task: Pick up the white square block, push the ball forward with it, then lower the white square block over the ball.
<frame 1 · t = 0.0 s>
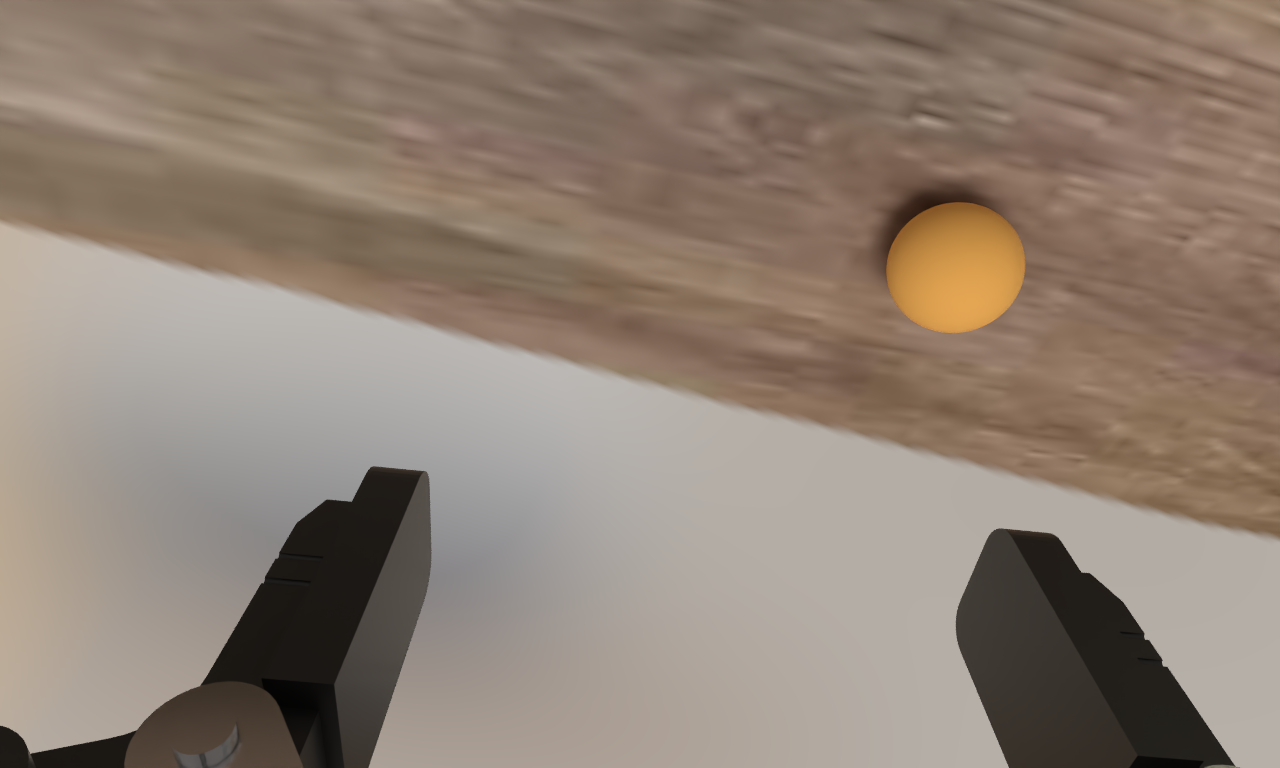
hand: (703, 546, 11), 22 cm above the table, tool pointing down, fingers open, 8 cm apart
ball: (953, 268, 31), on the table
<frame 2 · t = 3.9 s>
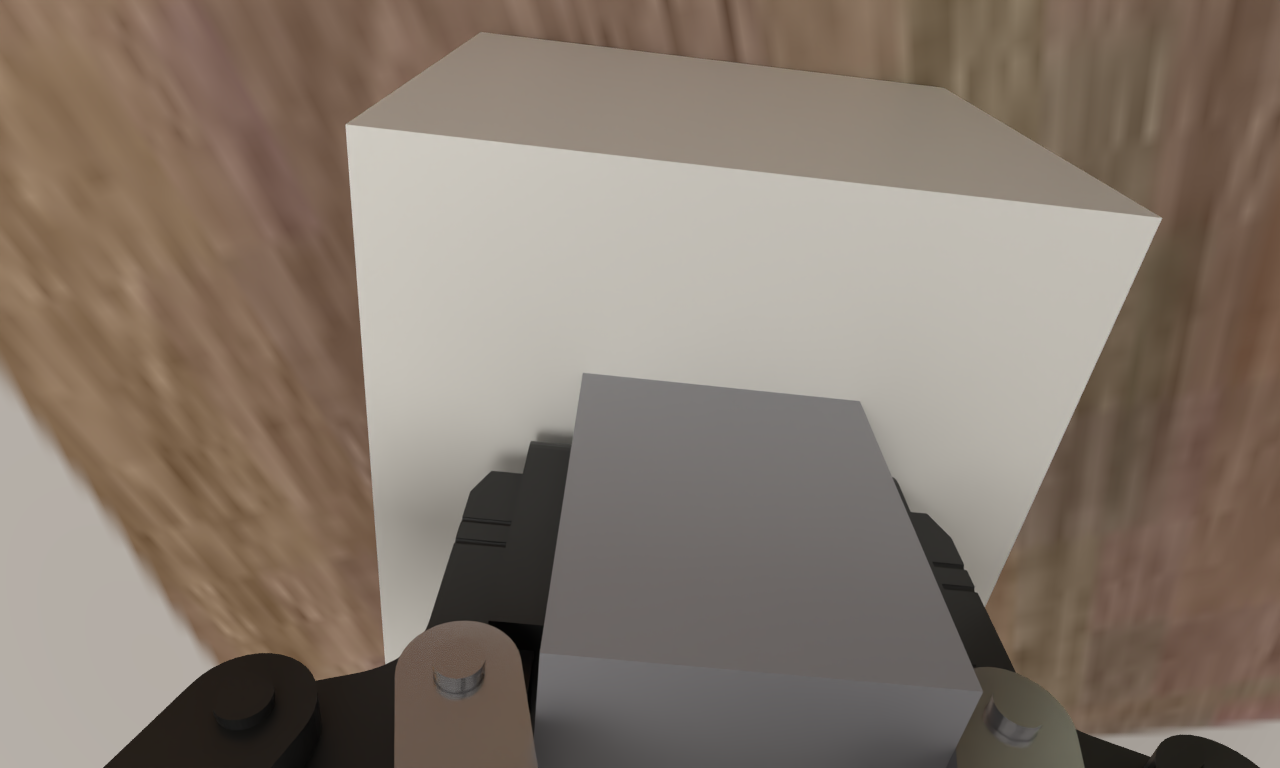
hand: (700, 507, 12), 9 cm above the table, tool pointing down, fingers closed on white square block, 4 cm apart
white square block: (683, 276, 20), on the table, touching gripper
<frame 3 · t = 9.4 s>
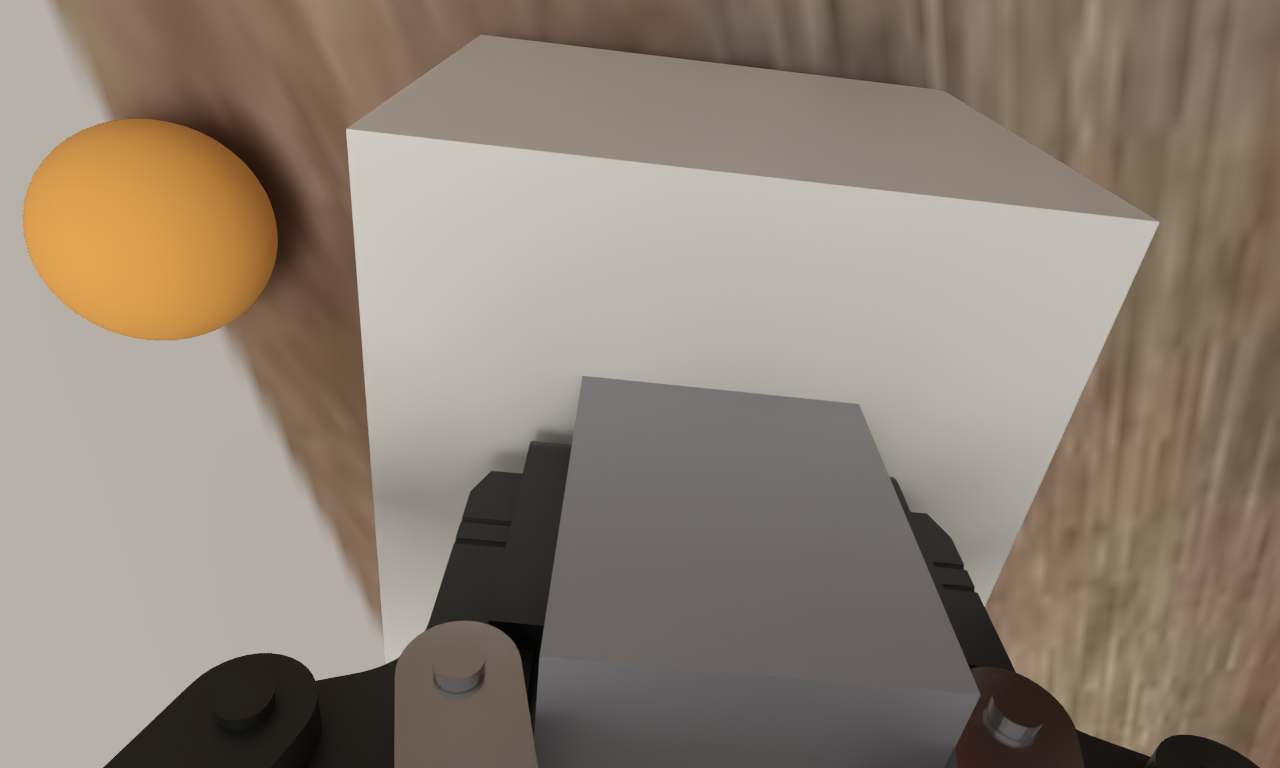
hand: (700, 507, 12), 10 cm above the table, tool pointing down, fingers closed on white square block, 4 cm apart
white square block: (682, 278, 20), point 1 cm above the table, touching gripper
ball: (159, 232, 19), on the table
when the fingers open (9 cm above the table, at t = 15.4 s): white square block stays where it is, on the table.
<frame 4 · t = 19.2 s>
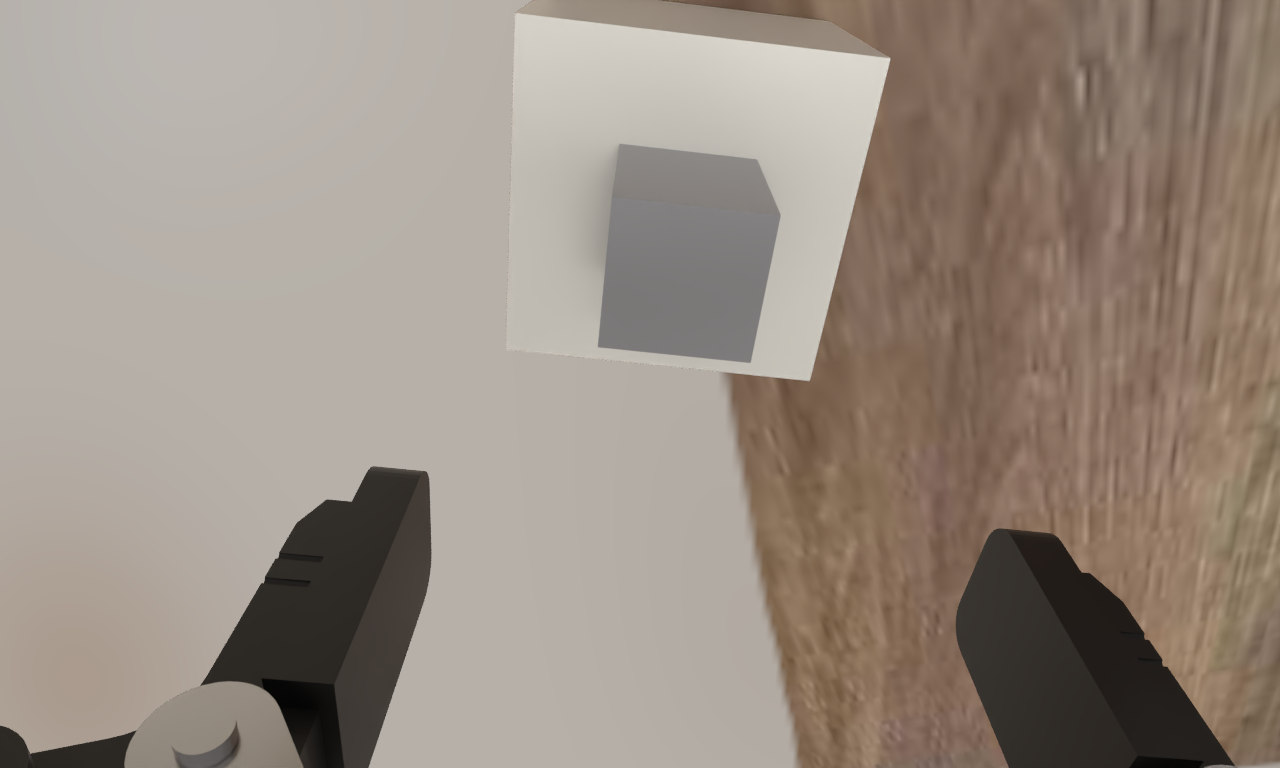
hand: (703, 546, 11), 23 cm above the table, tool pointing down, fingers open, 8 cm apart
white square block: (673, 145, 32), on the table
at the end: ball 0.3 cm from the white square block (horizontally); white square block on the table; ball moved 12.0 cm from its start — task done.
